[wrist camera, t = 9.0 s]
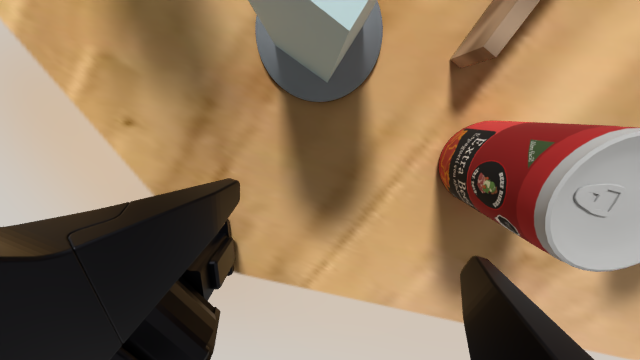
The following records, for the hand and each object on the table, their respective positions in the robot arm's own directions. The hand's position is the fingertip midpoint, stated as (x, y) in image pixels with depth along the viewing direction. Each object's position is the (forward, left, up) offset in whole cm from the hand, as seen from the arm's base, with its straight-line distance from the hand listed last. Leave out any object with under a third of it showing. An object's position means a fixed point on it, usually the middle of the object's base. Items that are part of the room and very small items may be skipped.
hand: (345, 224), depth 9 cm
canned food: (+14, 0, -14) cm, 20 cm away
